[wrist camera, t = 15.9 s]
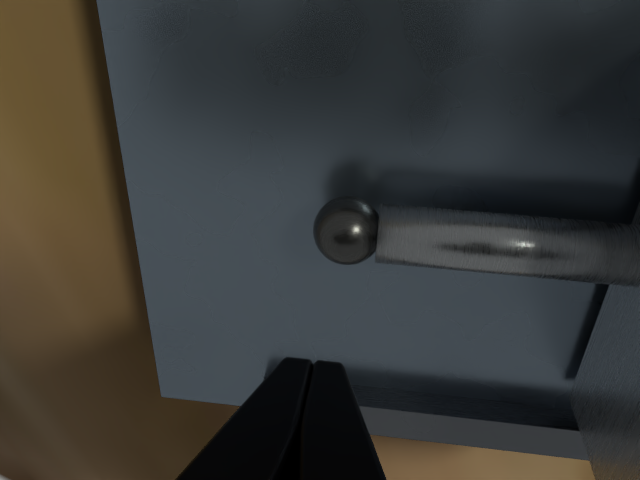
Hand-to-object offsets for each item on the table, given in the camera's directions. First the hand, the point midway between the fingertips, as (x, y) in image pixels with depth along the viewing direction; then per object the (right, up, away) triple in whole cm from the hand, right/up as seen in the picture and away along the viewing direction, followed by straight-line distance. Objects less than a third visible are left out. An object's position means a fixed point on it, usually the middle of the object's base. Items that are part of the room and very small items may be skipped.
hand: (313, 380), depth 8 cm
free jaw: (+4, +2, +4) cm, 6 cm away
